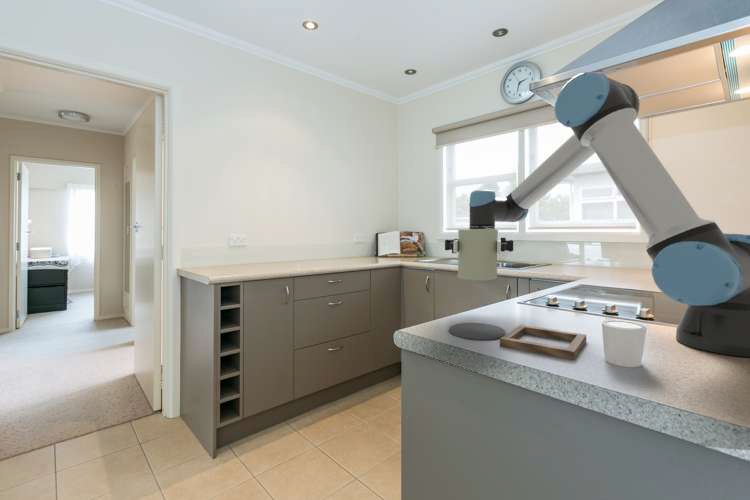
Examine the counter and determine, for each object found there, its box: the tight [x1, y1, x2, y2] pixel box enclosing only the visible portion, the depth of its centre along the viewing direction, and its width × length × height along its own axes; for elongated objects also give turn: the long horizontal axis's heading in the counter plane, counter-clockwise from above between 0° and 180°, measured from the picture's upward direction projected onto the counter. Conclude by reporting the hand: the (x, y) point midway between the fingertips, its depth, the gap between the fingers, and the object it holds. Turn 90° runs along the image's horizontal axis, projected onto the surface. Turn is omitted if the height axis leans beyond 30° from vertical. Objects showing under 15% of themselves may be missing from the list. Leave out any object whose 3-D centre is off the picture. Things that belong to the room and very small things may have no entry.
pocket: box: [499, 324, 587, 361], centre depth 79 cm, size 14×14×2 cm
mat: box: [448, 322, 507, 341], centre depth 88 cm, size 13×13×1 cm
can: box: [457, 228, 499, 282], centre depth 87 cm, size 9×9×12 cm
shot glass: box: [601, 320, 648, 368], centre depth 68 cm, size 7×7×7 cm
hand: (476, 247), depth 83 cm, fingers closed on can, 9 cm apart
